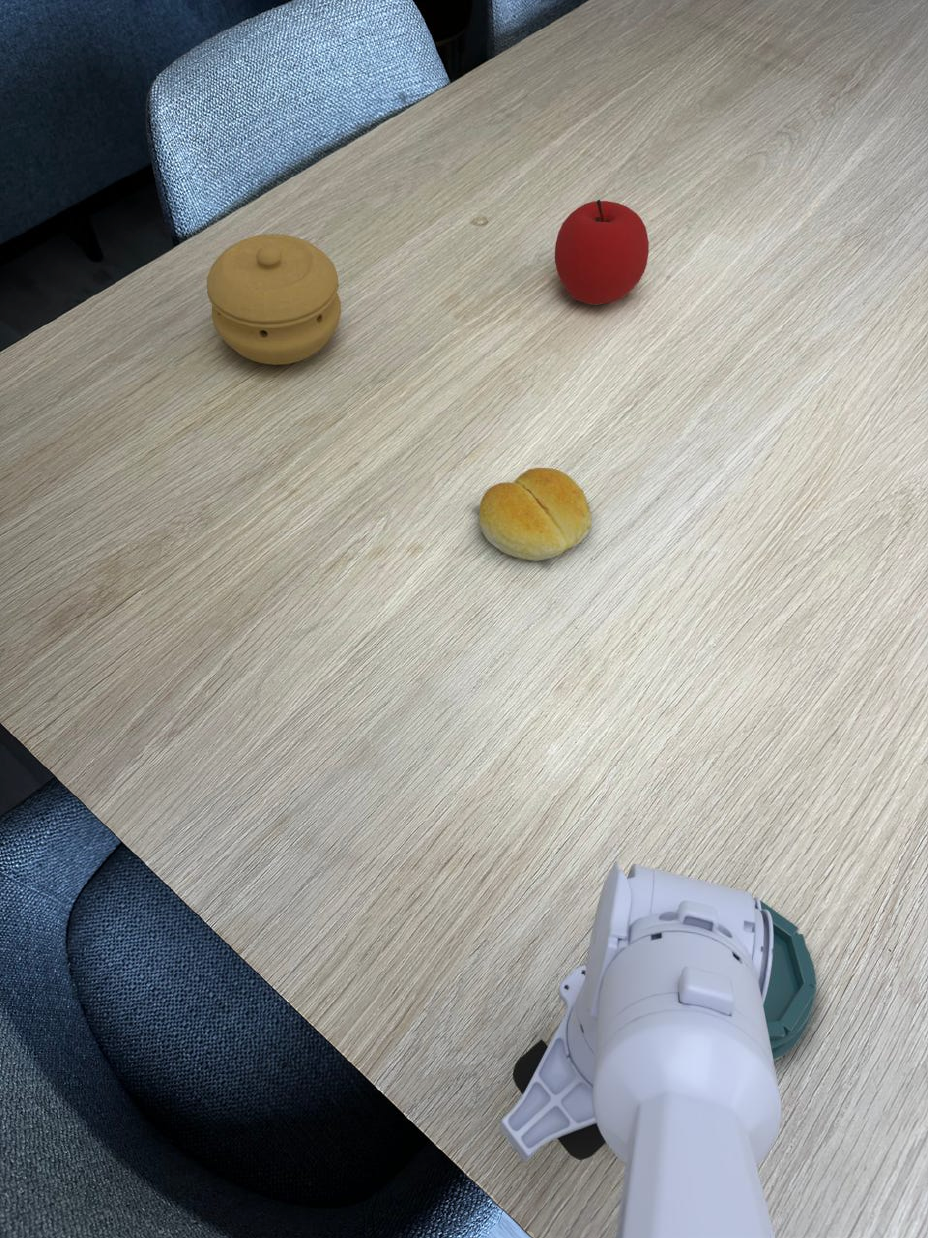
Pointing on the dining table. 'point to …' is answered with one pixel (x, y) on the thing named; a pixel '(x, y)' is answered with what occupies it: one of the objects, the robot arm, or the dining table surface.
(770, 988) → the stand
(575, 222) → the apple
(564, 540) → the bread roll
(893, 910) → the dining table surface
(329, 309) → the pot
